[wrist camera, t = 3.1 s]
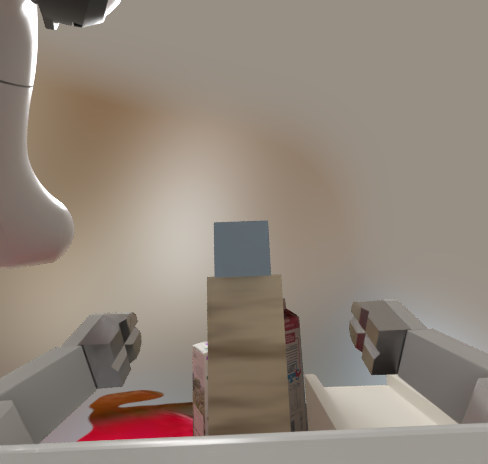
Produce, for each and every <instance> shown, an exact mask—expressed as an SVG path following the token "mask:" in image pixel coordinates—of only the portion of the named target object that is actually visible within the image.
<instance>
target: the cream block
mask: <svg viewBox="0 0 488 464" xmlns="http://www.w3.org/2000/svg"><path fill="white" fill-rule="evenodd" d="M397 375H398V374H395V375H386V378H387V385H381V386H380V385H378V386H349V387H323V386H322V384H321V383H320V381H319V380H318V378H317V377H316V376H315V374H312V375H310V374H308V375H305V388H306V400H307V401H306V402H307V415H308V429H309V431H321V430H342V429H363V428H384V427H406V426H427V425H449V424H458V423H457V422H455V421H454V420H453V419H452V418H450V417H449V416H448V415H447V414H445V413H444V412H443V411H442V410H440V409H439V408H438V407H436V406H435V405H434V404H433V403H431V402H430V401H429V400H428V399H426V398H425V397H424V396H422V395H421V394H420V393H419V392H417V391H416V390H415V389H414V388H412V387H411V386H410V385H408V384H407V383H406V382H405V381H403V380H402V379H401V378H400V377H398V376H397Z"/></svg>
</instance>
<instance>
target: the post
mask: <svg viewBox="0 0 488 464" xmlns="http://www.w3.org/2000/svg"><path fill="white" fill-rule="evenodd" d="M207 317H208V318H207V320H208V321H207V324H208V436H214V435H236V434H257V433H279V432H291V425H290V409H289V393H288V377H287V361H286V344H285V328H284V312H283V297H282V280H281V275H271V276H245V277H217V278H215V277H207Z"/></svg>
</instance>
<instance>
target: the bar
mask: <svg viewBox="0 0 488 464" xmlns="http://www.w3.org/2000/svg"><path fill="white" fill-rule="evenodd" d="M268 231H269V230H268V221H242V222H216V223H214V260H215V261H214V262H215V263H214V264H215V278H217V277H245V276H271V267H270V248H269V232H268Z"/></svg>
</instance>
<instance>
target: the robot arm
mask: <svg viewBox="0 0 488 464" xmlns="http://www.w3.org/2000/svg"><path fill="white" fill-rule="evenodd" d="M120 1H121V0H0V269H12V268H20V267H26V266H34V265H40V264H46V263H52V262H55V261H56V260H57V259H58V258H60V257H61V256H62V255H63V254H64V253H65V252H66V251H67V249H68V248H69V246H70V245H71V242H72V240H73V236H74V223H73V219H72V217H71V215H70V213H69V211H68V210H67V208H66V207H65V206H64V205H63V204H62V203H61V202H60V201H58V200H57V199H56V198H54V197H53V196H52V195H51V194H49V192H48V191H47V190H46V189H45V188H44V187H43V186H42V185H41V183H40V182H39V181H38V179H37V177H36V176H35V174H34V172H33V170H32V168H31V165H30V162H29V158H28V153H27V126H28V116H29V107H30V101H31V95H32V89H33V83H34V76H35V69H36V57H37V39H38V26H37V25H38V20H37V5H38V6H39V8H40V11H41V13H42V16H43V20H44V24H45V27H46V28H47V29H52V30H56V29H57V27H58V25H59V23H62V24H66V25H70V26H75V27H81V28H83V27H87V26H91V25H95V24H99V23H103V22H104V19H105V16H106V15H107V14H109V13H110V12H112V11H113V10H114V9H115V7H116V6H117V5H118V4H119V3H120ZM351 312H352V313H353V315H354V317H353V318H352V319H351V320H350V325H349V330H350V336H351V339H352V342H353V344H354V346H355V347H356V348H357V349H358V350H360V351H361V352H362V360H363V361H364V363H365V365H366V366H367V368H368V370H369V372H370V373H371V375H395V374H398V375H397V376H398V377H400V378H401V379H402V380H403V381H405V382H406V383H407V384H408V385H410V386H411V387H412V388H414V389H415V390H416V391H417V392H419V393H420V394H421V395H422V396H424V397H425V398H426V399H428V400H429V401H430V402H431V403H433V404H434V405H435V406H436V407H438V408H439V409H440V410H442V411H443V412H444V413H445V414H447V415H448V416H449V417H450V418H452V419H453V420H454V421H455V422H457V423H458V424H449V425H427V426H406V427H384V428H363V429H342V430H321V431H300V432H279V433H257V434H236V435H214V436H193V437H171V438H150V439H128V440H107V441H86V442H67V443H66V442H64V443H44V444H39V443H40V442H41V441H42V440H43V439H44V438H45V437H46V436H48V434H50V433H51V432H52V431H53V430H54V429H55V428H56V427H57V426H58V425H59V424H60V423H62V422H63V421H64V420H65V419H66V418H67V417H68V416H69V415H70V414H71V413H72V412H74V411H75V410H76V409H77V408H78V407H79V406H80V405H81V404H82V403H83V402H84V401H85V400H87V399H88V398H89V397H90V396H91V395H92V394H93V393H94V392H95V391H96V389H100V388H112V387H122V386H123V384H124V382H125V380H126V378H127V376H128V374H129V372H130V370H131V367H130V363H131V362H132V361H133V360H135V359H136V358H137V356H138V354H139V352H140V347H141V333H140V331H139V330H138V329H137V328H136V327H135V325H136V323H137V322H138V321H137V317H136V314H135V313H133V312H125V313H95V314H91V315H89V316H88V317H87V318H86V320H85V321H84V322H83V323H82V324H81V325H80V326H79V327H78V328H77V329H76V331H75V332H74V333H73V334H72V335H71V336H70V337H69V338H68V339H67V340H66V341H65V343H64V344H63V345H62V346H61V347H55V348H53V349H51V350H50V351H48V352H46V353H44V354H43V355H41V356H39V357H37V358H35V359H34V360H32V361H30V362H28V363H26V364H25V365H23V366H21V367H19V368H17V369H16V370H14V371H12V372H10V373H9V374H7V375H5V376H3V377H2V378H0V464H488V354H487V353H485V352H483V351H480V350H478V349H476V348H474V347H472V346H469V345H467V344H465V343H463V342H460V341H458V340H456V339H454V338H452V337H450V336H447V335H445V334H443V333H441V332H439V331H436V330H434V329H428V328H427V327H425V325H423V324H422V323H421V322H420V321H419V320H418V319H417V318H416V317H415V316H414V315H413V314H412V313H411V312H410V311H409V310H408V309H407V308H406V307H405V306H403V305H402V303H401V302H399V301H398V300H396V299H387V300H379V301H360V302H353V304H352V308H351Z"/></svg>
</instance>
